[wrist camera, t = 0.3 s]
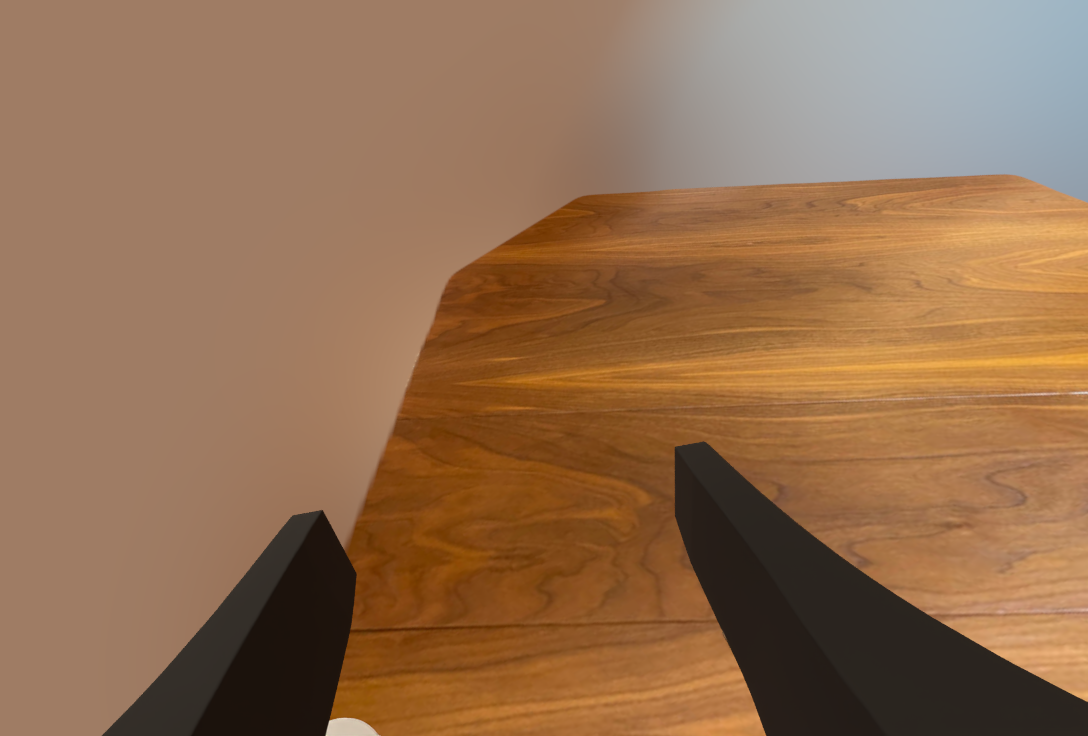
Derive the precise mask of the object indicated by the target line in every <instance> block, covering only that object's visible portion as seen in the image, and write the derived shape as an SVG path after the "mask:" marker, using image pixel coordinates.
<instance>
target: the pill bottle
mask: <svg viewBox="0 0 1088 736" xmlns="http://www.w3.org/2000/svg"><path fill="white" fill-rule="evenodd" d="M326 736H380V735H378V734H377V732H376V731H375V730H374V729H373V728H372V727H371V726H369V725H368V724H367V723H365V722H363V721H360V720H357V719H353V718H339V719H334V720H331V721H329V724H328V728H327V732H326Z"/></svg>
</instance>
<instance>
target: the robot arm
mask: <svg viewBox="0 0 1088 736" xmlns="http://www.w3.org/2000/svg"><path fill="white" fill-rule="evenodd" d="M675 517H676V520H677V523H678V526H679V529H680V532H681V535H682V538H683V541H684V544H685V547H686V550H687V553H688V556H689V559H690V562H691V564H692V566H693V568H694V571H695V573H696V575H697V577H698V579H699V582H700V584H701V586H702V588H703V590H704V592H705V595H706V597H707V599H708V601H709V603H710V605H711V607H712V610H713V612H714V614H715V616H716V618H717V620H718V622H719V624H720V627H721V629H722V631H723V633H724V635H725V637H726V639H727V642H728V644H729V646H730V648H731V650H732V652H733V654H734V657H735V659H736V661H737V663H738V665H739V667H740V669H741V672H742V674H743V676H744V679H745V681H746V683H747V686H748V688H749V691H750V693H751V695H752V698H753V701H754V703H755V706H756V709H757V712H758V714H759V717H760V720H761V723H762V725H763V728H764V731H765V733H766V736H1088V702H1086V701H1084V700H1082V699H1080V698H1078V697H1076V696H1074V695H1072V694H1070V693H1068V692H1066V691H1064V690H1062V689H1061V688H1059V687H1057V686H1055V685H1053V684H1051V683H1049V682H1047V681H1045V680H1043V679H1041V678H1039V677H1038V676H1036V675H1034V674H1032V673H1030V672H1028V671H1026V670H1024V669H1022V668H1020V667H1018V666H1017V665H1015V664H1013V663H1011V662H1009V661H1007V660H1005V659H1004V658H1002V657H1000V656H998V655H996V654H995V653H993V652H991V651H990V650H988V649H986V648H984V647H983V646H981V645H979V644H977V643H976V642H974V641H972V640H970V639H969V638H967V637H965V636H964V635H962V634H960V633H958V632H957V631H955V630H953V629H951V628H950V627H948V626H946V625H944V624H943V623H941V622H939V621H938V620H936V619H934V618H932V617H931V616H929V615H927V614H926V613H924V612H923V611H921V610H919V609H918V608H916V607H915V606H913V605H912V604H910V603H908V602H907V601H905V600H904V599H902V598H900V597H899V596H897V595H896V594H894V593H893V592H891V591H890V590H888V589H887V588H885V587H884V586H882V585H881V584H879V583H878V582H876V581H875V580H873V579H872V578H870V577H869V576H867V575H866V574H864V573H863V572H862V571H860V570H859V569H857V568H856V567H855V566H853V565H852V564H850V563H849V562H848V561H846V560H845V559H843V558H842V557H841V556H839V555H838V554H837V553H835V552H834V551H833V550H831V549H830V548H829V547H827V546H826V545H825V544H823V543H822V542H821V541H819V540H818V539H817V538H815V537H814V536H813V535H812V534H810V533H809V532H808V531H807V530H805V529H804V528H803V527H802V526H800V525H799V524H798V523H796V522H795V521H794V520H793V519H792V518H790V517H789V516H788V515H787V514H786V513H784V512H783V511H782V510H781V509H780V508H778V507H777V506H776V505H775V504H774V503H773V502H771V501H770V500H769V499H768V498H767V497H765V496H764V495H763V494H762V493H761V492H760V491H759V490H757V489H756V488H755V487H754V486H753V485H752V484H751V483H750V482H748V481H747V480H746V479H745V478H744V477H743V476H742V475H741V474H740V473H739V472H737V471H736V470H735V469H734V468H733V467H732V466H731V465H730V464H729V463H728V462H727V461H726V460H725V459H723V458H722V457H721V456H720V455H719V454H718V453H717V452H716V451H715V450H714V449H713V448H712V447H711V446H710V445H708V444H707V443H706V442H699V443H694V444H688V445H682V446H677V447H675ZM356 575H357V574H356V572H355V570H354V568H353V566H352V564H351V562H350V560H349V559H348V557H347V555H346V553H345V551H344V549H343V547H342V545H341V544H340V542H339V540H338V538H337V536H336V534H335V532H334V531H333V529H332V527H331V525H330V523H329V521H328V519H327V518H326V516H325V514H324V512H323V510H320V511H315V512H309V513H304V514H298V515H293V516H292V517H291V518H290V519H289V520H288V522H287V523H286V524H285V525H284V526H283V528H282V529H281V530H280V531H279V533H278V534H277V535H276V536H275V538H274V539H273V540H272V541H271V543H270V544H269V545H268V546H267V548H266V549H265V550H264V551H263V553H262V554H261V556H260V557H259V558H258V559H257V560H256V562H255V563H254V564H253V565H252V567H251V568H250V570H249V571H248V572H247V573H246V575H245V576H244V577H243V578H242V579H241V581H240V582H239V583H238V584H237V585H236V587H235V588H234V589H233V590H232V592H231V593H230V594H229V595H228V596H227V598H226V599H225V600H224V601H223V603H222V604H221V605H220V606H219V608H218V609H217V610H216V611H215V612H214V614H213V615H212V616H211V617H210V618H209V620H208V621H207V622H206V623H205V624H204V625H203V627H202V628H201V629H200V630H199V631H198V632H197V633H196V635H195V636H194V637H193V638H192V639H191V640H190V642H189V643H188V644H187V645H186V646H185V648H183V650H182V651H181V652H180V653H179V654H178V655H177V657H176V658H175V659H174V660H173V661H172V662H171V663H170V664H169V666H168V667H167V668H166V669H165V670H164V671H163V672H162V674H161V675H160V676H159V677H158V678H157V679H156V680H155V681H154V682H153V683H152V684H151V685H150V687H149V688H148V689H147V690H146V691H145V692H144V693H143V694H142V695H141V696H140V697H139V698H138V699H137V700H136V702H135V703H134V704H133V705H132V706H131V707H130V708H129V709H128V710H127V711H126V712H125V713H124V714H123V715H122V716H121V717H120V718H119V719H118V720H117V721H116V722H115V723H114V724H113V725H112V726H111V727H110V728H109V729H108V730H107V731H106V732H105V733H104V734H103V735H102V736H326V732H327V728H328V724H329V719H330V715H331V711H332V707H333V702H334V698H335V694H336V690H337V685H338V681H339V677H340V673H341V669H342V664H343V660H344V655H345V651H346V647H347V642H348V638H349V633H350V628H351V623H352V615H353V606H354V597H355V586H356Z"/></svg>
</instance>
